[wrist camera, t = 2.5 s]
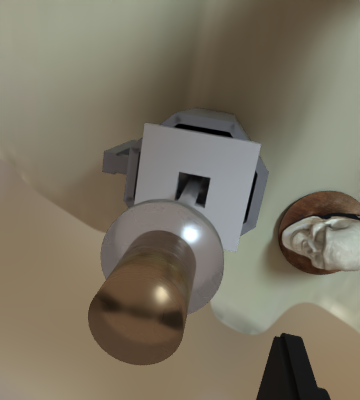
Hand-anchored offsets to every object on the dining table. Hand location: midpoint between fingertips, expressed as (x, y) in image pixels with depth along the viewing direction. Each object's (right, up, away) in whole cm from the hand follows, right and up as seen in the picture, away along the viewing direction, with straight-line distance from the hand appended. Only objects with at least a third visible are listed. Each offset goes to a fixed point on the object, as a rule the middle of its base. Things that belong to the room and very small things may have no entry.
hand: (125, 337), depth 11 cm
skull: (+21, 0, +36) cm, 42 cm away
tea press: (+4, +11, +35) cm, 37 cm away
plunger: (+4, +7, +22) cm, 23 cm away
